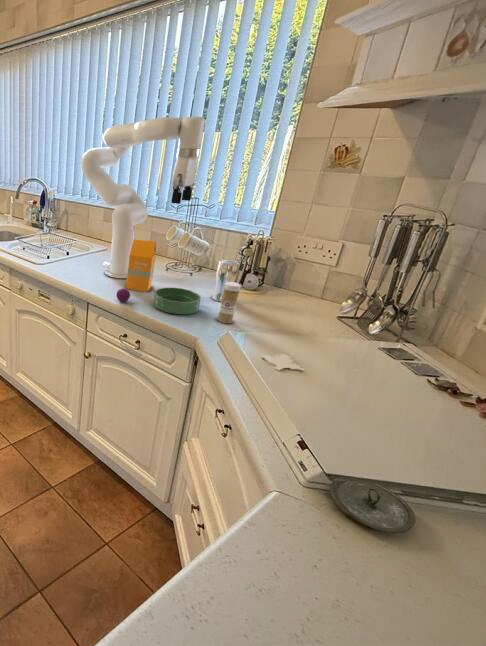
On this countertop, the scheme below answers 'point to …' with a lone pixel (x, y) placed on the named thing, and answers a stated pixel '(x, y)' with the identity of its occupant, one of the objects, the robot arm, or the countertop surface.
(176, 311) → the bowl
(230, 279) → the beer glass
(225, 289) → the sprinkles bottle
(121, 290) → the ball
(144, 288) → the orange juice
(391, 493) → the lid
